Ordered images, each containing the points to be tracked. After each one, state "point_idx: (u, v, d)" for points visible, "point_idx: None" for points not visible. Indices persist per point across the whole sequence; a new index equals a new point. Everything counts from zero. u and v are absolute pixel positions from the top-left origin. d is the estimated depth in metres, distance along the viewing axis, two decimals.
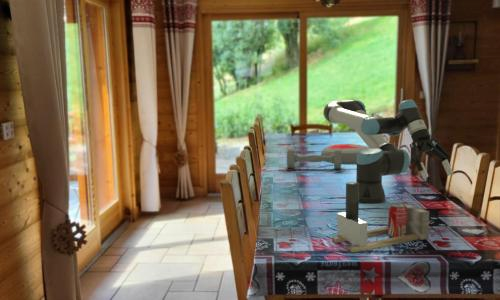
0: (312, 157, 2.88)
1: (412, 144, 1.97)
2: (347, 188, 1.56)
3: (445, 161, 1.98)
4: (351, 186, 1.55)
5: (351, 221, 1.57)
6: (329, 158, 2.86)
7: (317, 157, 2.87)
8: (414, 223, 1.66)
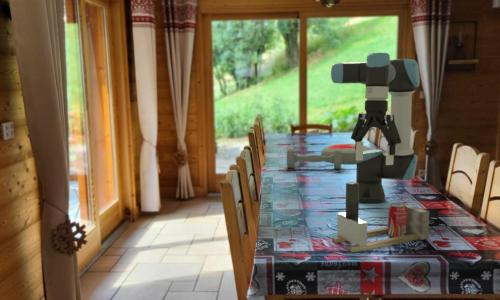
0: (312, 157, 2.88)
1: None
2: (347, 188, 1.56)
3: None
4: (351, 186, 1.55)
5: (351, 221, 1.57)
6: (329, 158, 2.86)
7: (317, 157, 2.87)
8: (414, 223, 1.66)
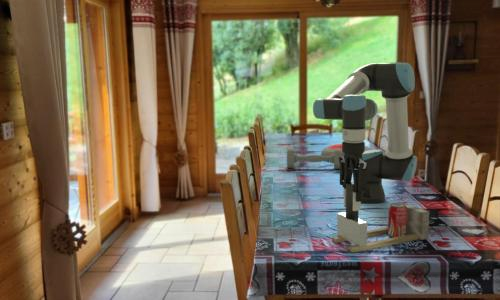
0: (312, 157, 2.88)
1: None
2: (347, 188, 1.56)
3: None
4: (351, 186, 1.55)
5: (351, 221, 1.57)
6: (329, 158, 2.87)
7: (317, 157, 2.87)
8: (414, 223, 1.66)
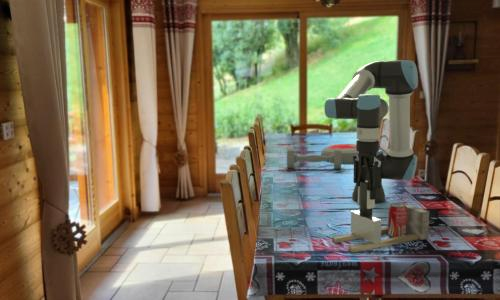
0: (312, 157, 2.88)
1: None
2: (361, 186, 1.58)
3: None
4: (365, 184, 1.57)
5: (365, 219, 1.59)
6: (329, 158, 2.87)
7: (317, 157, 2.87)
8: (414, 223, 1.66)
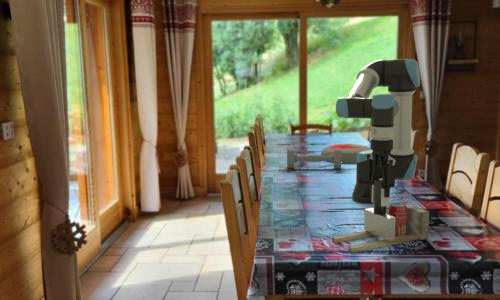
0: (312, 157, 2.88)
1: None
2: (375, 184, 1.61)
3: None
4: (379, 182, 1.60)
5: (379, 217, 1.61)
6: (329, 158, 2.87)
7: (317, 157, 2.87)
8: (414, 223, 1.66)
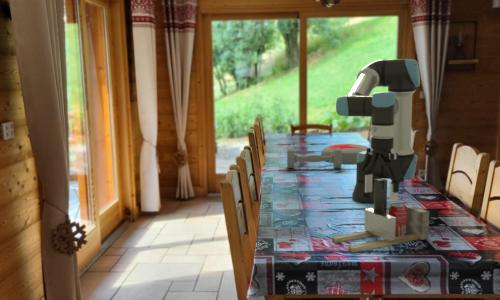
0: (312, 157, 2.88)
1: None
2: (376, 184, 1.61)
3: None
4: (380, 182, 1.60)
5: (379, 217, 1.61)
6: (329, 158, 2.87)
7: (317, 157, 2.87)
8: (414, 223, 1.66)
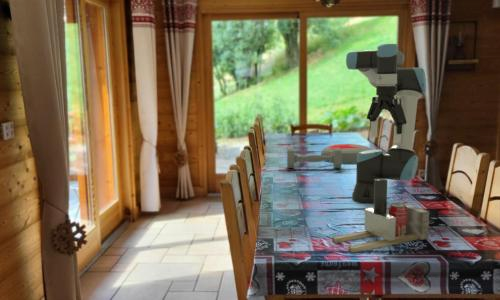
0: (312, 157, 2.88)
1: None
2: (376, 184, 1.61)
3: None
4: (380, 182, 1.60)
5: (379, 217, 1.61)
6: (329, 158, 2.87)
7: (317, 157, 2.87)
8: (414, 223, 1.66)
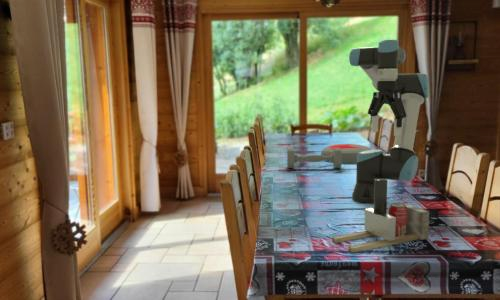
0: (312, 157, 2.88)
1: None
2: (376, 184, 1.61)
3: None
4: (380, 182, 1.60)
5: (379, 217, 1.61)
6: (329, 158, 2.87)
7: (317, 157, 2.88)
8: (414, 223, 1.66)
